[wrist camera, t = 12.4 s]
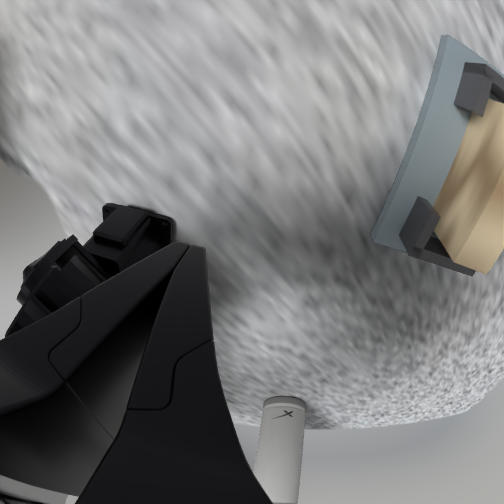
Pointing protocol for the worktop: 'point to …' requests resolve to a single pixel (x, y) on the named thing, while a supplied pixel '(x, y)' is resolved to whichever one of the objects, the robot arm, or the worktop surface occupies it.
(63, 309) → the robot arm
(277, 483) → the travel mug
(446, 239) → the slat
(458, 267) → the board
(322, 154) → the worktop surface
